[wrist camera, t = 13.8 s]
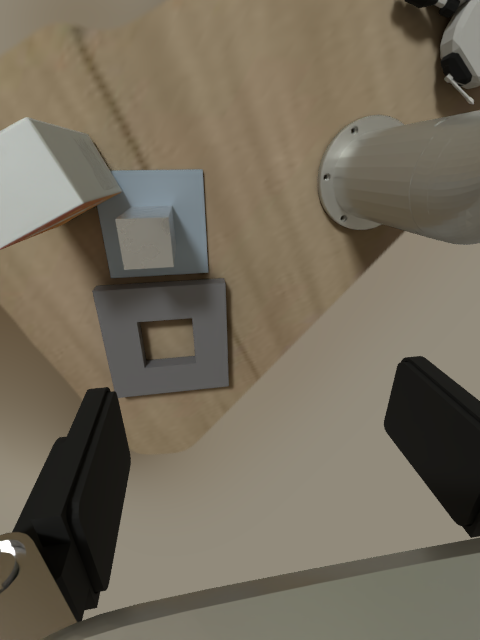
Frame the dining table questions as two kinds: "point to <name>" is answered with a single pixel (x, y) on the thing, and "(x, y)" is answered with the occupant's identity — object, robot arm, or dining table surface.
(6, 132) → the small box
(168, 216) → the steel plug
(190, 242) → the blue pad
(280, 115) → the dining table surface
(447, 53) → the robot toy
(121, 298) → the socket block
